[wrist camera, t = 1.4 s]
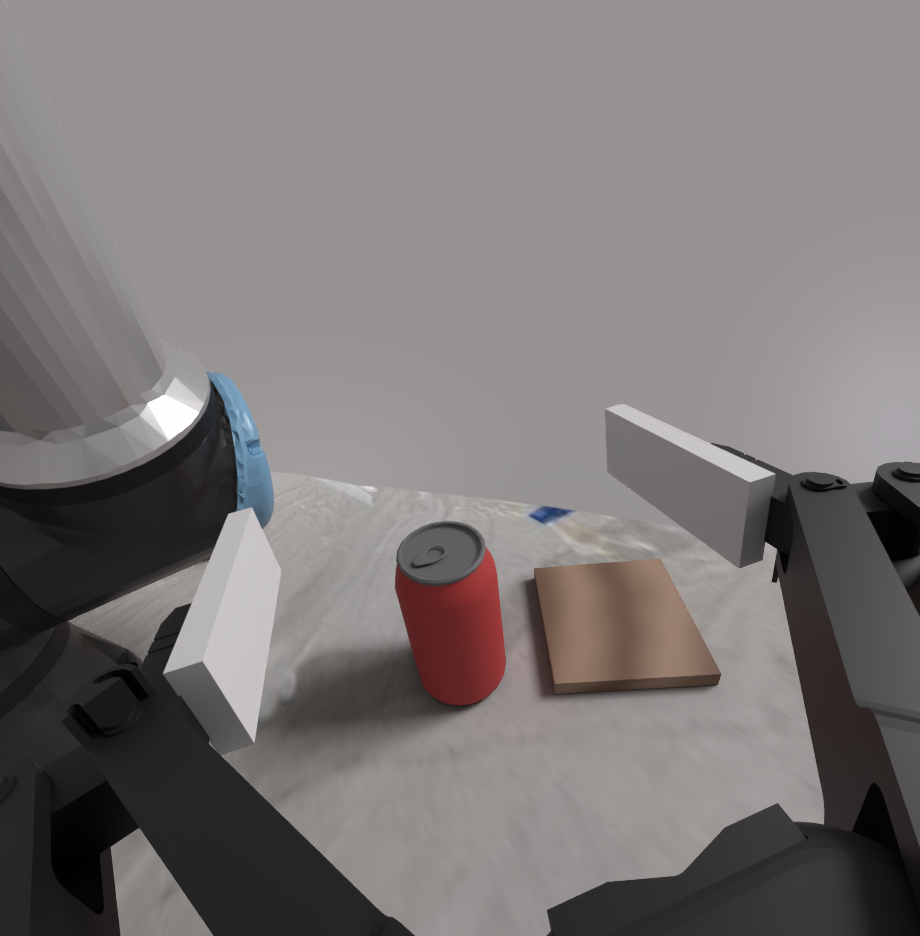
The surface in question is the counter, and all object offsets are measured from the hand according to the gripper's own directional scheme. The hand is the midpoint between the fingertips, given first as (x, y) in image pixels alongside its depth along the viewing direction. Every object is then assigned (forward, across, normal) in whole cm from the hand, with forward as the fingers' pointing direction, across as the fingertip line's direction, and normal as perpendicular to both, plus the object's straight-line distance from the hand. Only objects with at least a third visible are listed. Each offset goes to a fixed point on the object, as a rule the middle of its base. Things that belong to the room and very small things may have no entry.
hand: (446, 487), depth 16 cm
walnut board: (+9, +12, -21) cm, 26 cm away
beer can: (+10, 0, -21) cm, 23 cm away
